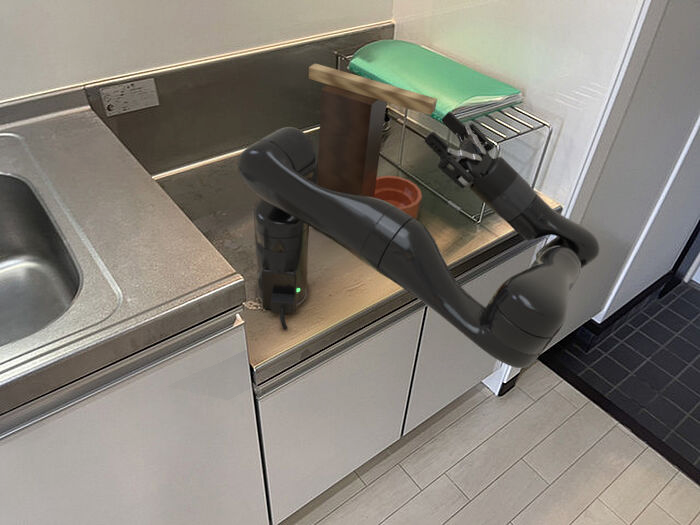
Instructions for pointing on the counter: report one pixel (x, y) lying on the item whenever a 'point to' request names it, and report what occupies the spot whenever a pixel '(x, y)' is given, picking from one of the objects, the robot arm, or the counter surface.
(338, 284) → the counter surface
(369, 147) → the stand
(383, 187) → the bowl
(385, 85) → the stick
